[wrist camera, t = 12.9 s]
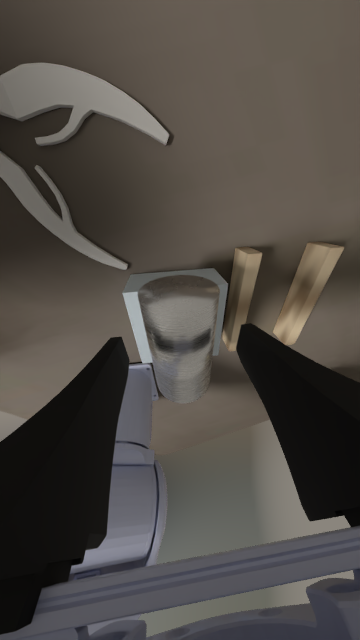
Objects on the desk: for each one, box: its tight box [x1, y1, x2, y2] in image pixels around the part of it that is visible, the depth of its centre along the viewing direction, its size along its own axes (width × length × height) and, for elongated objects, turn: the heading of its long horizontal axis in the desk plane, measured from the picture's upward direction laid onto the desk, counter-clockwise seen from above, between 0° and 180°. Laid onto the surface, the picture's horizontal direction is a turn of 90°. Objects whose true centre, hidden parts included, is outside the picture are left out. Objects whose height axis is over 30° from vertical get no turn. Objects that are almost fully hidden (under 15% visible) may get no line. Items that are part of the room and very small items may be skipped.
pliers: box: [0, 62, 169, 270], centre depth 9 cm, size 10×2×15 cm
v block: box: [123, 268, 228, 364], centre depth 16 cm, size 8×8×4 cm
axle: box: [138, 275, 220, 403], centre depth 12 cm, size 9×5×5 cm, turn 2°
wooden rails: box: [222, 242, 344, 351], centre depth 17 cm, size 11×8×2 cm
